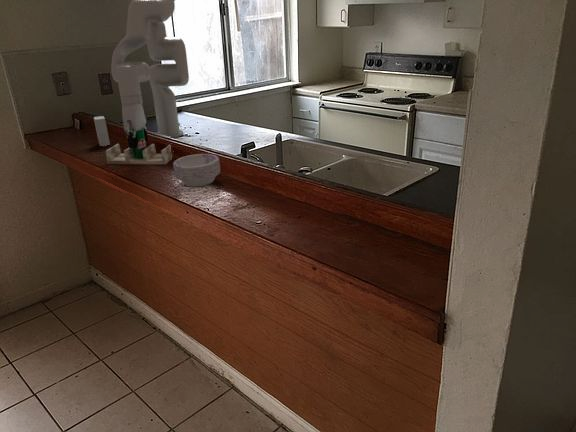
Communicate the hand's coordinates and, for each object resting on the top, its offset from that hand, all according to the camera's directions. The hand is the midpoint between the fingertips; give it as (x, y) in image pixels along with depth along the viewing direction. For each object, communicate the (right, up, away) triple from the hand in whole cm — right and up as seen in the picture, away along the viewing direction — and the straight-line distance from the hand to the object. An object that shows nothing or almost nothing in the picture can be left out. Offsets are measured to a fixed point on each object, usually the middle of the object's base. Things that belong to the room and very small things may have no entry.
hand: (139, 144), depth 191 cm
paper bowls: (+27, -17, -24) cm, 40 cm away
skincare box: (-23, +3, +27) cm, 36 cm away
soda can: (0, -5, +2) cm, 5 cm away
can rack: (0, -6, +3) cm, 6 cm away
